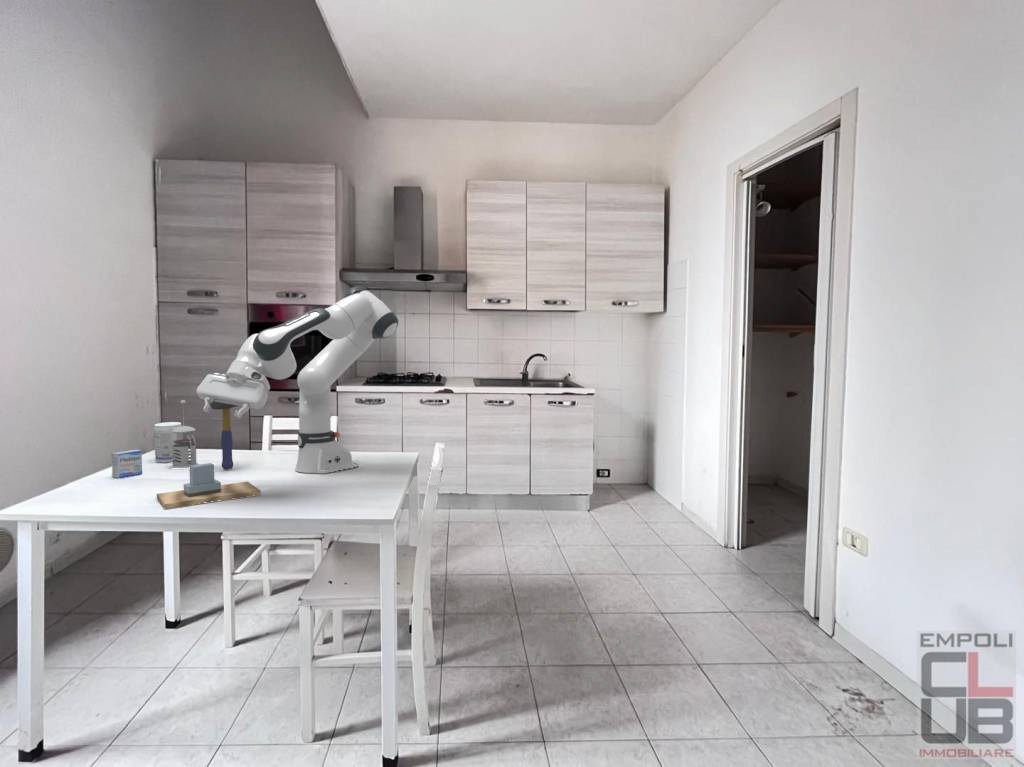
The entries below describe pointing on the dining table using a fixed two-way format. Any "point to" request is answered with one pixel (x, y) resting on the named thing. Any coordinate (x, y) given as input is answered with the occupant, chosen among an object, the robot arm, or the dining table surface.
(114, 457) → the medicine box
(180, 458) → the french press
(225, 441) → the rubber mallet
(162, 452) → the supplement tub
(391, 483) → the dining table surface
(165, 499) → the oak board
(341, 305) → the robot arm
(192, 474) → the block
